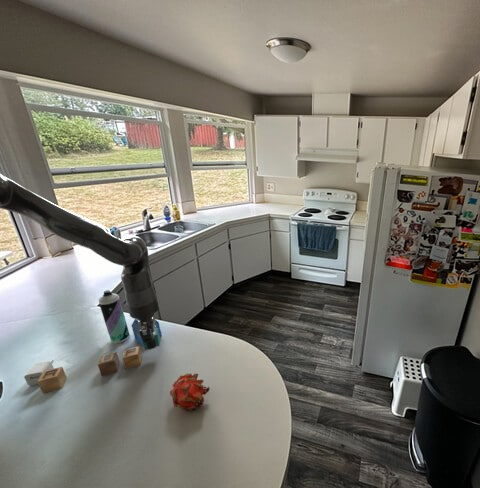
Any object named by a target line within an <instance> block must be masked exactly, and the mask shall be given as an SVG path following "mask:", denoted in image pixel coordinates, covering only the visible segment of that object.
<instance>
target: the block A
mask: <svg viewBox="0 0 480 488" xmlns="http://www.w3.org/2000/svg"><path fill="white" fill-rule="evenodd" d="M67 378H68V377H67V375H66V372H65V370H64V367H63V366H59V367H55V368H54V369H51V370H47V371H44V372H43V373H42V375H41V377H40V378H39V380H38V384H37V385H38V386H39V388H40V390H41V393H42V394H46V393H49V392H53V391H57V390H59V389H62V388H63V386H64V384H65V382H66V380H67Z"/></svg>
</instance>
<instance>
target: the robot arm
mask: <svg viewBox="0 0 480 488" xmlns="http://www.w3.org/2000/svg"><path fill="white" fill-rule="evenodd" d="M0 209H1V210H4V211H9V212H13V213H15V214H19V215H21V216H23V217H26V218H27V219H30V220H31V221H33V222H35V223H37V224H39V225H40V226H41V227H42V228H44V229H45V230H47V231H48V232H49V233H51V234H53V235H54V236H56V237H58V238H60V239H62V240H65V241H67V242H69V243H71V244H74V245H77V246H80V247H82V248H85V249H89V250H91V251H92V252H93V253H95V254H96V255H98V256H100V258H103V259H104V260H107V261H108V262H110V263H112V264H114V265H117V266H122V272H121V275H120V280H121V283H122V288H123V291H124V298H125V303H126V306H127V310H128V313H129V316H130V318H132V319H133V320H135V319H139V320H140V321H138V324H139V327H140V331H139V333H140V336H141V338H142V340H143V343H146V344H147V348H148V349H147V350H153V349H155V348H157V347H156V343H155V339H154V334H153V332H154V330H155V328H156V326H155V323H156V321H155V320H156V317H155V316H156V315H155V314H156V313H157V312H158V310H159V302H158V298H157V295H156V290H155V287H154V284H153V281H152V277H151V273H150V268H149V267H150V264H149V263H150V261H149V259H150V258H149V250H148V246H147V243H146V242H145V241H144V240H143V238H141V237H139V236H136V235H128V236H125V237H123V238H121V239H120V238H118V237H116V236H114V235H112V234H111V230H110V229H109V228H108V227H106V226H104V225H102V224H100V223H98V222H95V221H93V220H90V219H88V218H86V217H83V216H81V215H78V214H76V213H75V212H72V211H69V210H68V209H65V208H63V207H61V206H59V205H57V204H54V202H51V201H49V200H47V199H46V198H44V197H42V196H40V195H38V194H36V193H34V192H32V191H31V190H29V189H27V188H25V187H24V186H22V185H20V184H18V183H17V182H15V181H13V180H12V179H10V178H8V177H6V176H4V175H3V174H1V173H0Z"/></svg>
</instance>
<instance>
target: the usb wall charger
mask: <svg viewBox="0 0 480 488" xmlns="http://www.w3.org/2000/svg"><path fill="white" fill-rule="evenodd" d="M54 362H55V361H54V359H53V360H51V361H43V362H38V363H35V364H34V365H33V366H31V368H30V369H29V370H28V372H26V374H25V375H24V376H23V377H24V380H25V381H26V384H27V385H28V386H35V385H39V384H38V380H39V378H40V377H41V375H42V373H43V372H44V371H47V370H51V369H55V368H54V366H53V364H54Z"/></svg>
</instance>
